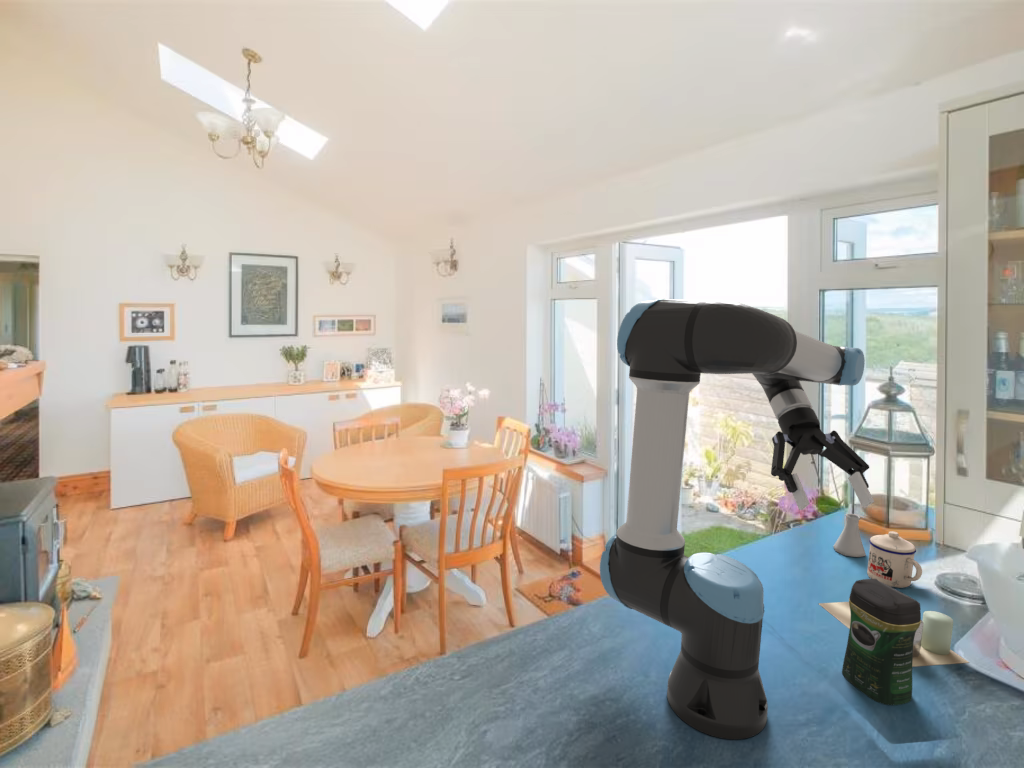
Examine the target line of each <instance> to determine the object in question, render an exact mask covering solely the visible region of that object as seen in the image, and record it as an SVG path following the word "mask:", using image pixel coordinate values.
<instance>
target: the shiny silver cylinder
mask: <svg viewBox="0 0 1024 768" xmlns="http://www.w3.org/2000/svg"><path fill="white" fill-rule="evenodd" d="M923 625H924V623H923V619H921V623H920V626H919V628H918V629H917V631H916V633H915V636H914V643H913V657H918V656H919V655H920V649H921V641H922V633H923Z"/></svg>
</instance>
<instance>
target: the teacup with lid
mask: <svg viewBox="0 0 1024 768" xmlns="http://www.w3.org/2000/svg"><path fill="white" fill-rule="evenodd" d="M916 553H917V549H916V546H915V545H914V544H913V543H912V542H910V541H908V540H906V539H904V538H902V537H901V536H900V534H899V532H897V531H888V534H887V533H884V534H877V535H873V536H871V537H870V539H869V552H868V560H867V561H868V562H867V576H868V577H869V579H877V580H878V581H880V582H882V583H884V584H886V585H888V586H890V587H892V588H899V589H902V588H908V587H910V586H911V584H912V582H916V581H918V580H919V579H920V578H921V577H922V575H923V569H922V566H921V564H920V562H918V561H916V560H915V554H916ZM914 568H915V575H914V576H913V569H914Z"/></svg>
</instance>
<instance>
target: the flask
mask: <svg viewBox="0 0 1024 768" xmlns="http://www.w3.org/2000/svg"><path fill="white" fill-rule="evenodd" d="M845 517H846V519H845V521H846V522H845V523H844V528H843V529H842V532H841V533H840V535H839V536H838V537H837V540H836V541H835V542H834V545H833V546H832V547H833V549H834V551H835V552H837V553H839V554H840V555H843V556H846V557H852V558H853V557H854V558H863V557H866V556H867V554H866V551H865V547H864V544H863V540H862V536H861V534H860V533H861V532H860V529H859V528H860V526H859V522H860V520H861V516H860V515H857V514H856V513H855V514H854V513H846V514H845Z"/></svg>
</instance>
